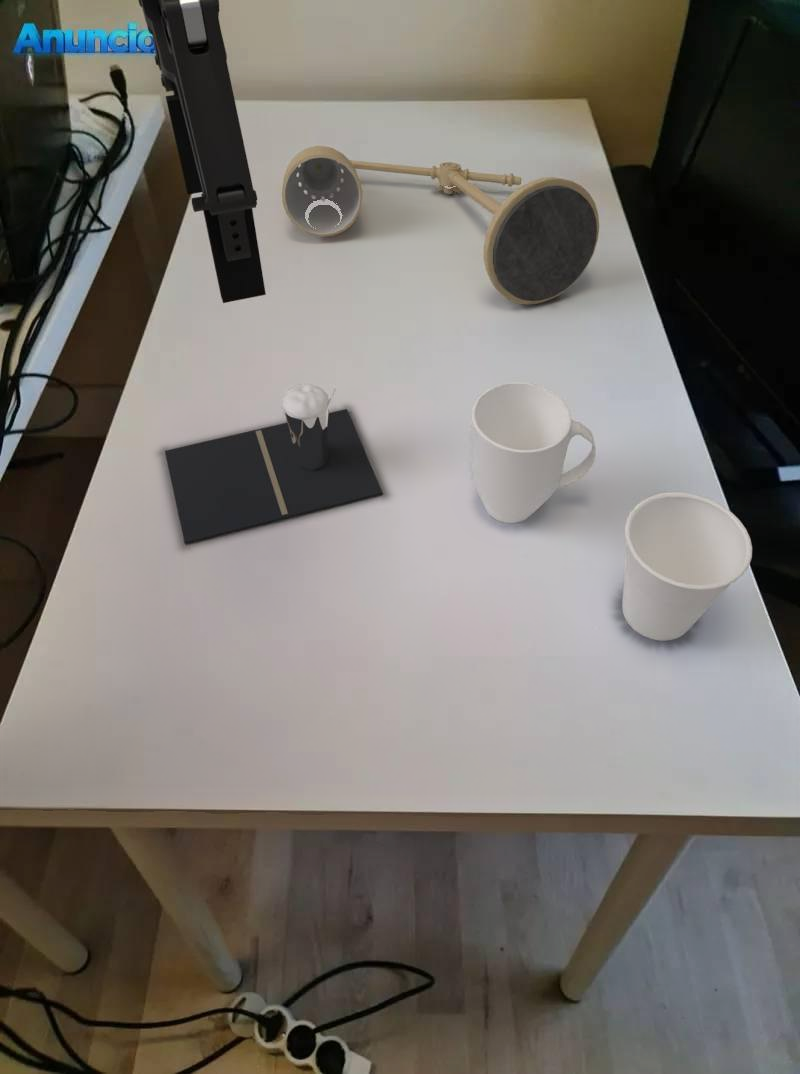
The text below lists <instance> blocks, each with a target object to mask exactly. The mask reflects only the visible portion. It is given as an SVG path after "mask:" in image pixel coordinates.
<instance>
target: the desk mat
mask: <svg viewBox="0 0 800 1074" xmlns="http://www.w3.org/2000/svg"><path fill="white" fill-rule="evenodd" d="M164 454H165V460H166V463H167V468H168V472H169V477H170V481H171V486H172V492H173V496H174V501H175V506H176V510H177V515H178V520H179V525H180V528H181V534H182V538H183V542H184V545H189V544H193V543H197V542H201V541H205V540H209V539H214V538H217V537H222V536H225V535H229V534H232V533H233V534H234V533H237V532H241V531H245V530H249V529H253V528H256V527H257V528H258V527H261V526H265V525H268V524H273V523H276V522H277V523H278V522H280V521H285V520H288V519H289V520H290V519H292V518H296V517H301V516H305V515H308V514H309V515H310V514H312V513H316V512H320V511H324V510H328V509H332V508H336V507H339V506H344V505H347V504H352V503H356V502H359V501H364V500H368V499H372V498H375V497H379V496H383V495H384V494H383V489H382V488H381V485H380V483H379V481H378V478H377V476H376V473H375V471H374V468H373V466H372V465H371V462H370V460H369V457H368V455H367V453H366V450H365V448H364V445H363V443H362V440H361V438H360V436H359V434H358V432H357V429H356V427H355V424H354V421H353V419H352V417H351V415H350V412H349V410H348V408H344V409H340V410H336V411H332V412H329V418H328V462H327V463H326V464H325V465H324V467H322V468H319V469H316V470H307V469H304V468H302V467H301V466H300V465H299V464H298V462H297V458H296V454H295V450H294V446H293V442H292V438H291V434H290V431H289V427H288V424H287V422H283V423H279V424H275V425H270V426H266V427H261V428H258V429H252V430H249V431H245V432H240V433H236V434H231V435H227V436H222V437H218V438H214V439H210V440H206V441H201V442H196V443H192V444H188V445H183V446H179V447H175V448H170V449H165V450H164Z"/></svg>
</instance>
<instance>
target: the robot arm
mask: <svg viewBox="0 0 800 1074" xmlns="http://www.w3.org/2000/svg"><path fill="white" fill-rule="evenodd" d="M137 1H138V5H139V7H141V8H142V12H143V16H144V21H145V23H146V27H147V30H148V33H149V34H150V35H152V42H153V47H154V52H155V55H154V57H153V58H154V61H155V65H156V66H158V69H159V71H161V72H160V73H161V74H160V82H161V85H162V87H163V88H165V92H166V93H169V92H172V93H173V94H171V95H165V96H164V97H165V101H166V106H167V111H168V115H169V119H170V123H171V124H170V125H171V128H172V133H173V137H174V142H175V147H176V151H177V155H178V160H179V165H180V168H181V169H180V170H181V173H182V179H183V182H184V187H185V191H186V194H187V195H194V194H200V193H201V194H200V195H201V196H196V197H191V206H192V209H193V212H194V213H197V212H202V213H203V215H204V216H203V217H204V221H205V227H206V230H207V235H208V241H209V246H210V249H211V255H212V260H213V265H214V269H215V274H216V279H217V284H218V289H219V294H220V298H221V301H222V303H223V304H227V303H231V302H237V301H241V300H247V299H251V298H252V299H253V298H257V297H261V296H266V286H265V281H264V274H263V268H262V262H261V256H260V248H259V242H258V236H257V230H256V224H255V218H254V211H253V209H256V208H257V205H258V195H257V191H256V190H255V189H254V185H253V180H252V176H251V171H250V167H249V163H248V162H249V161H248V157H247V152H246V148H245V142H244V138H243V133H242V129H241V122H240V119H239V113H238V110H237V104H236V100H235V95H234V90H233V85H232V80H231V76H230V70H229V65H228V62H227V60H228V54H227V50H226V47H225V41H224V38H223V34H222V33H223V32H222V29H221V24H220V23H221V22H220V19H219V18H220V17H219V16H220V0H137Z"/></svg>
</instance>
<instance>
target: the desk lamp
mask: <svg viewBox="0 0 800 1074" xmlns="http://www.w3.org/2000/svg"><path fill="white" fill-rule="evenodd" d="M357 170H364V171H365V170H366V171H375V172H385V173H394V174H395V173H396V174H405V175H416V176H425V177H430V179H431V180H435V179H438V184H439V185H438V186H437V187H436V192H439V191H443V193H444V194H448V195H451V194H453V193H454V192H455V193H458V194H461V192H463V193H464V194H466V195H467V196H468V197H469V198H471V199H472V200H474V201H475V202H476V203H477V204H479V205H480V206H481V207H483V208H484V209H485V210H487V211H488V212H489V213H491V215H493V217H492V218H491V220H490V222H489V225H488V228H487V230H486V233H485V238H484V242H483V263H484V267H485V272H486V274H487V276H488V279H489V280H490V282H491V284H492V285H493V287H494V288H495V289H496V291H497V292H498V293H499V294H500V295H501V296H502V297H504V298H506V299H507V300H508V301H511V302H513V303H516V304H519V305H528V306H529V305H536V304H541V303H545V302H547V301H550V300H553V299H555V298H556V297H559V296H561V295H562V294H563V293H565V292H566V291H568V289H570V288H571V287H572V286H573V285H574V284H575V283H576V282H577V281H578V280H579V278H581V276H582V275H583V273H584V272H585V270H586V269H587V268H588V266H589V264H590V263H591V261H592V258H593V257H594V256H593V255H594V254H595V251H596V247H597V244H598V240H599V234H600V218H599V217H600V216H599V212H598V208H597V204H596V202H595V200H594V198H593V197H592V195H591V194H590V193H589V191H587V190H586V188H585V187H584V186H582V185H581V184H579V183H578V182H576V181H573V180H570V179H565V178H562V177H561V178H560V177H555V176H550V177H549V176H548V177H541V178H538V179H534V180H531V181H529V182H527V183H525V184H523V185H521V184H522V177H521V176H515V175H514V174H513V173H509V175H507V174H506V173H504V174H494V173H483V172H473V171H469V170H470V169H468V168H466V169H464V170H463V169H462V165H461V164H460V163H457V162H451V161H449V162H447V161H446V162H441V163H440V164H439V167H437V166H436V165H432V167H422V166H412V165H403V164H391V163H382V162H381V163H380V162H373V161H372V162H371V161H363V160H362V161H361V160H350V159H349V158H348V157H347V156H346V155H345V154H344V153H342V152H341V151H338V150H337V149H335V148H333V147H329V146H325V145H316V146H310V147H308V148H305V149H303V150H302V151H299V152H298V153H297V154H295V156H294V157H293V158H292V159H291V160H290V162H289V164H288V165H287V168H286V169H285V173H284V176H283V183H282V188H281V189H282V190H281V199H282V200H281V201H282V205H283V209H284V211H285V214H286V216H287V217H288V219H289V220H290V222H291V223H292V224H293V225H294V226H295V227H296V228H298V229H299V230H301V232H304V233H305V234H308V235H311V236H315V237H320V238H321V237H322V238H327V237H333V236H337V235H339V234H341V233H343V232H344V231H347V229H349V228H350V227H351V226H352V225H353V224H354V222H355V221H356V220H357V218H358V216H359V214H360V212H361V211H362V210H361V209H362V206H363V187H362V184H361V181H360V178H359V175H358V172H357ZM297 174H298V176H297ZM470 181H474V182H483V183H491V184H492V183H493V184H502V186H505V185H507V186H508V187H509V188H511V187H513V186H519V187H518V188H517V189H515V190H514V191H513V192H512V193H511V194H509V196H507V197H506V198H505V199H504V201H503V202H501V203H499V202H498V201H496V200H495V199H493V197H492V196H490V195H488V194H487V193H485V192H484V191H483V190H481V189H480V188H478V187H477V186H476V185H474V184H473V183H471V182H470ZM299 183H300V185H299ZM440 185H443V186H440ZM520 185H521V186H520ZM444 186H448V187H453V186H456V187H453V188H451V189H447V188H445V187H444ZM338 188H339V190H338ZM305 192H306V193H305ZM331 194H332V196H330V195H331ZM313 196H314V197H315V198H314V197H313ZM323 197H324V200H325V199H328V200H330V201H333V202H334V203H335V204H336V203H337V204H336V205H338V206H339V208H340V209H341V210H340V211H341V213H342V215H343V216H342V219H341V222H340V215H339V213H338V211H337V210H336V209H335V208H333V207H332V206H330V205H318V206H316V207H314V208H313V209H312V210H311V212H310V213H309V218H308V220H309V223H310V225H311V226H312V227H311V226H310V225H309V224H308V223H307V221H306V219H305V212H306V210H307V208H308V206H309V205H310V204H311V203H313V201H317V200H320V199H321V200H322V198H323ZM339 222H340V223H339ZM338 223H339V225H337V224H338ZM335 226H336V227H335ZM313 227H314V228H313ZM315 228H316V229H315Z"/></svg>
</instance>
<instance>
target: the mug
mask: <svg viewBox="0 0 800 1074" xmlns="http://www.w3.org/2000/svg"><path fill="white" fill-rule="evenodd" d="M470 427H471V428H470V455H469V457H470V459H469V462H470V464H469V465H470V474H471V480H472V482H473V485H474V488H475V490H476V492H477V494H478V497H479V498H480V500H481V503H482V505H483V507H484V509H485V511H486V513H487V514H488V515H489V516H490V517H491V518H492V519H494V520H496V521H499V522H501V523H505V524H518V523H521V522H524V521H525V520H527V519H529V518H530V517H531V516H532V515H533V514H534V513H535V512H536V511H537V510H538V509H539V508H540V507H542V505H543V504H545V502H547V501H548V500H549V499H550V497H551V496H552V495H553V494H554V493H555V491H556V490H557V489H563V488H565V487H567V486H569V485H572V484H574V483H576V482H577V481H578V480H581V479H582V478H583V477H584V476H585V475H586V474H587V473H588V472H589V471H590V470H591V468H592V467H593V465H594V463H595V459H596V452H597V451H596V442H595V438H594V435H593V433H592V431H591V430H590V429H589V428H588V427H587V426H586V425H584V424H582V422H580V421H575V420H573V419H572V415H571V411H570V409H569V407H568V405H567V403H566V402H565V401H564V399H562V398H561V397H560V395H558V394H557V393H555V392H554V391H552V390H550V389H549V388H547V387H545V386H542V385H539V384H535V383H532V382H527V381H526V382H525V381H510V382H503V383H500V384H496V385H493V386H491V387H489V388H488V389H486V390H485V391H484V392H482V393H481V394H480V395H479V396H478V397H477V398H476V399H475V401H474V404H473V406H472V409H471V425H470ZM579 435H580V436H581V437H582V438H583V439H585V440H587V441H588V442H589V443H590V444H591V449H590V451H589V452H588V455H587V456H586V457H585V458H584V459H583V460H582V461H581V462H580V463H579V464H578V465H577V466H575V467H574V468H572V469H570V470H568V471H566V472H563V469H564V465H565V460H566V456H567V451H568V447H569V444H570V442H571V440H572V438H574V437H576V436H579Z"/></svg>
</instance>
